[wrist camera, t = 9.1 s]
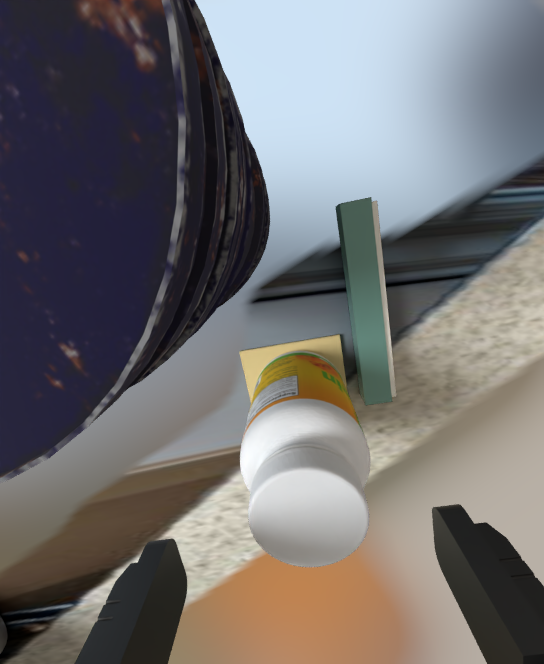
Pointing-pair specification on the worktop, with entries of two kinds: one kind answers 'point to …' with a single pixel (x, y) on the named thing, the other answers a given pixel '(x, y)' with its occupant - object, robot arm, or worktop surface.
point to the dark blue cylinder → (111, 206)
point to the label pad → (262, 356)
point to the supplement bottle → (305, 463)
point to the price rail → (367, 298)
